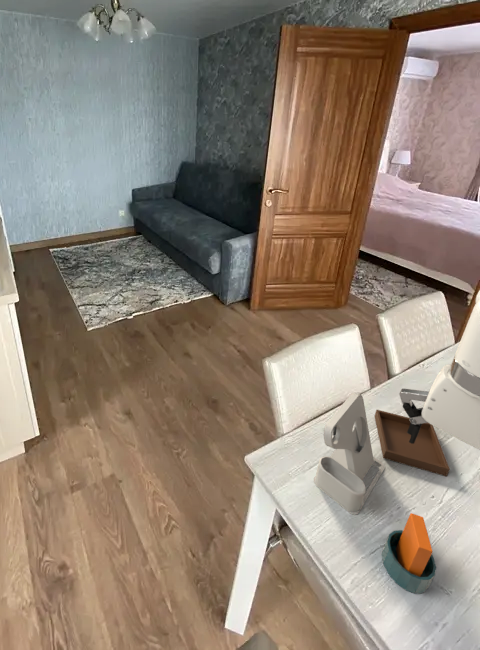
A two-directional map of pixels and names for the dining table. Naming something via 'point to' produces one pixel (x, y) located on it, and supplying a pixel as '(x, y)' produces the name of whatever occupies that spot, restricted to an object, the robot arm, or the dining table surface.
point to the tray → (400, 450)
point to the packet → (414, 546)
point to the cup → (401, 574)
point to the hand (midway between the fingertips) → (446, 457)
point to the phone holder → (348, 457)
